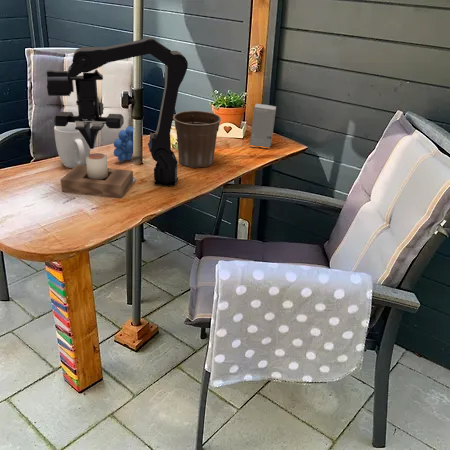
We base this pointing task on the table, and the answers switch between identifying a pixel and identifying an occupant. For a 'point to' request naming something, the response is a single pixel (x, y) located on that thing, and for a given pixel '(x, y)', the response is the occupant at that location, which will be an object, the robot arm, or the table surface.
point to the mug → (71, 145)
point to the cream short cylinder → (97, 166)
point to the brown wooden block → (97, 182)
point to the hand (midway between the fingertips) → (92, 148)
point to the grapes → (124, 144)
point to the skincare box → (262, 125)
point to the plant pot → (196, 137)
